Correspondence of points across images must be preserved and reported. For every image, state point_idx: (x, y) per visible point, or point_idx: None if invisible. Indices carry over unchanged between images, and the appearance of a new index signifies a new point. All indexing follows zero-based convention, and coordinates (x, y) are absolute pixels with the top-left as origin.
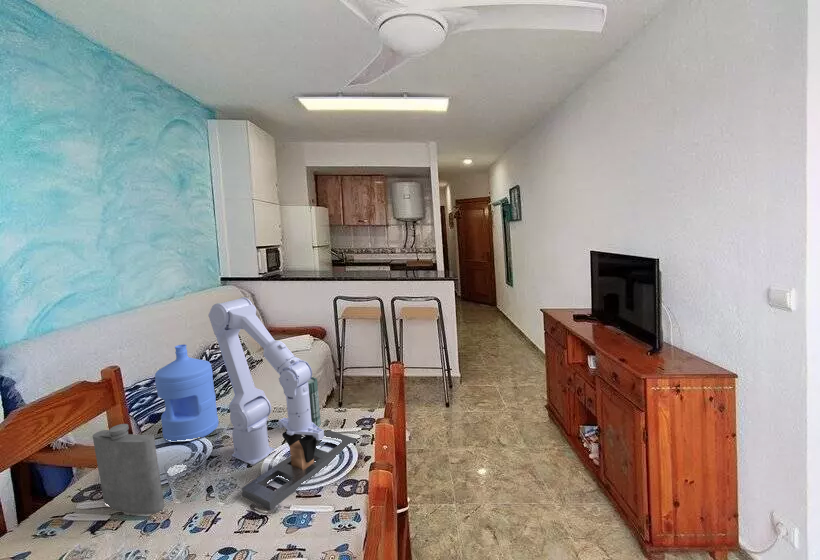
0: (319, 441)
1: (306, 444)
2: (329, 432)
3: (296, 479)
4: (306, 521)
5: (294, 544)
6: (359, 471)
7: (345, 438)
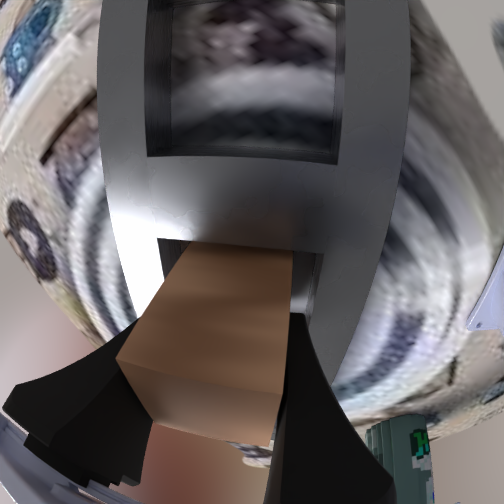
0: None
1: (17, 388)
2: None
3: (114, 147)
4: (10, 57)
5: (4, 5)
6: (70, 314)
7: None
